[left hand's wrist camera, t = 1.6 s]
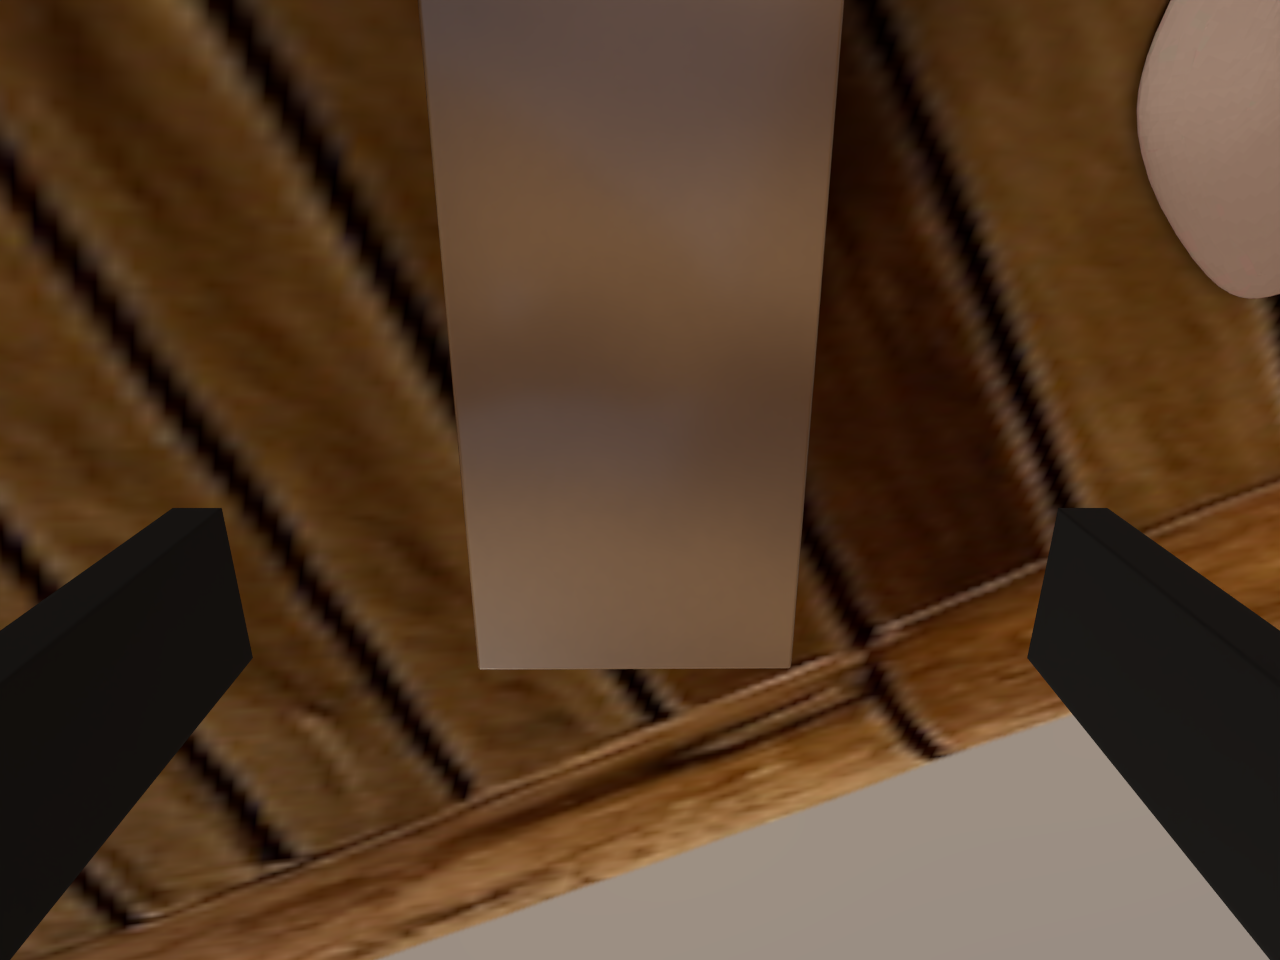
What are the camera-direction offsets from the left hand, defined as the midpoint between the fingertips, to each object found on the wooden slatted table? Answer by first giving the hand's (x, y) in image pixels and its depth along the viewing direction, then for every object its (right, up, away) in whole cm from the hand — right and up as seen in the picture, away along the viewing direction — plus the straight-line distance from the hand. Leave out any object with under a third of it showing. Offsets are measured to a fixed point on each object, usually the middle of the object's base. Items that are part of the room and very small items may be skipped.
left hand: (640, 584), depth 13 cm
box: (0, +13, +11) cm, 16 cm away
